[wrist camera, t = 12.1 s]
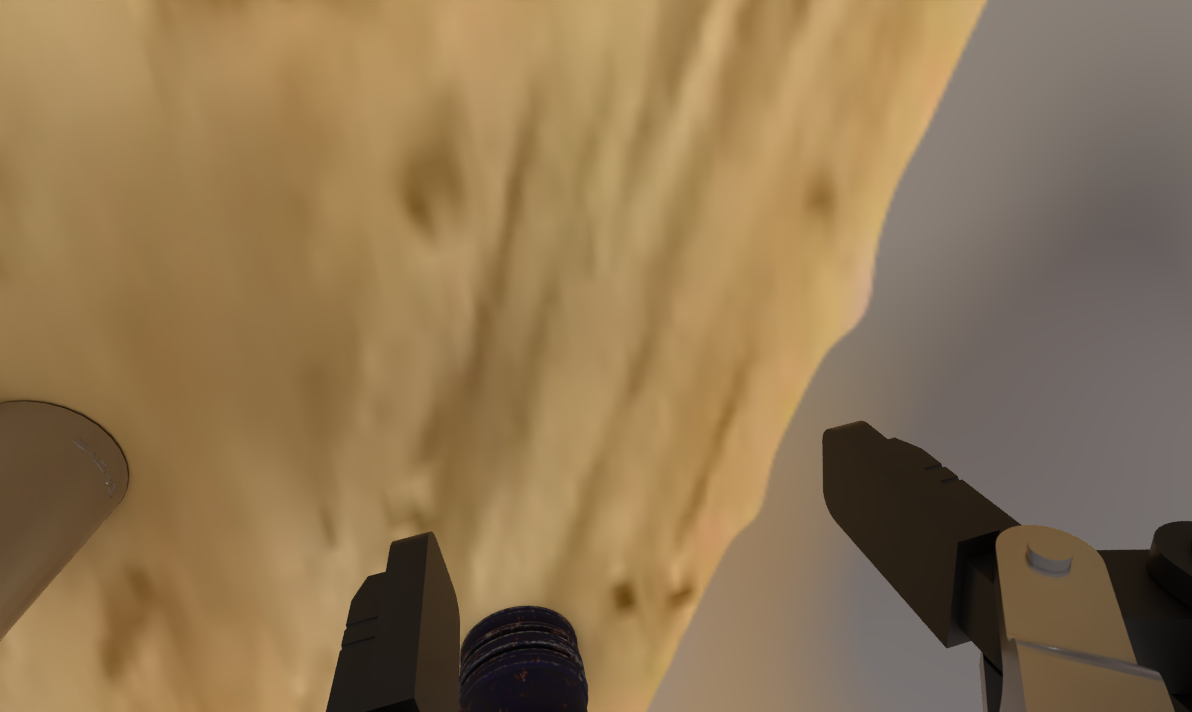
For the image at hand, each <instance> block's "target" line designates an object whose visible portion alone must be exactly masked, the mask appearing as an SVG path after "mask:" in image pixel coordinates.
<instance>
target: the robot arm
mask: <svg viewBox="0 0 1192 712" xmlns="http://www.w3.org/2000/svg"><path fill="white" fill-rule="evenodd" d="M822 443H823V493H824V498H825V502H826V505H827V508H828V510H829V512H830V514H831V516H832V517H833V519H834V520H835V521H836V523H837V524H838V525H839V526H840V527H841V528H842V529H843V531H844V532H845V533H846V534H847V535H848V536H849V537H850V538H851V539H852V541H853V542H854V543H855V544H856V545H857V547H859V549H860V550H861V551H862V552H863V553H864V554H865V556H866V557H867V558H868V559H869V560H870V561H871V562H872V563H873V565H874V566H875V567H876V568H877V569H878V570H879V572H880V573H881V574H882V575H883V576H884V577H885V578H886V579H887V580H888V582H889V583H890V584H891V585H892V586H893V588H894V589H895V590H896V591H897V592H898V593H899V594H900V596H901V597H902V598H903V599H904V600H905V601H906V602H907V604H909V606H910V607H911V608H912V609H913V610H914V612H915V613H916V614H917V615H918V616H919V617H920V618H921V620H922V621H923V622H924V623H925V624H926V625H927V626H928V628H929V629H930V630H931V631H932V632H933V633H934V634H935V636H936V637H937V638H938V639H939V640H940V641H941V642H942V644H943V645H944V646H945V647H946V648H950V647H953V646H956V645H959V644H962V643H965V642H969V641H972V642H973V643H974V644H975V645H976V646H977V647H978V648H979V649H980V650H981V653H980V661H979V668H980V680H981V693H982V707H983V712H1192V522H1191V521H1180V522H1179V521H1178V522H1171V523H1168V524H1165V525H1163V526H1161V527H1159V528H1158V529H1157V530H1156V532H1155V534H1154V537H1153V541H1152V544H1151V548H1150V550H1095V549H1094V548H1093V547H1092V546H1090V545H1089V544H1088V543H1086V542H1085V541H1083V540H1081V539H1080V538H1078V537H1076V536H1073V535H1072V534H1069V533H1067V532H1064V531H1061V530H1058V529H1055V528H1051V527H1046V526H1038V525H1021V524H1019V523H1018V522H1016V521H1015V520H1014V519H1013V518H1012V517H1010V516H1009V515H1008V514H1006V513H1005V512H1004V511H1002V510H1001V509H1000V508H999V507H997V506H996V505H994V504H993V503H992V502H991V501H989V500H988V499H987V498H985V497H984V496H983V495H982V494H980V493H979V492H978V491H976V490H975V489H974V488H972V487H971V486H970V485H968V484H967V483H966V482H965V481H963V480H959V479H958V476H956V475H955V474H954V473H953V472H952V471H950V470H949V469H947V468H946V467H942V465H941V463H940V462H938V461H937V460H936V459H934V458H933V457H932V456H931V455H929V454H928V453H927V452H925V451H924V450H923V449H921V448H919V447H917V446H914V445H912V444H909V443H907V442H904V441H902V440H899V439H897V438H892V439H887V438H885V437H884V436H883V435H882V434H880V433H879V432H878V431H877V430H875V429H874V428H873V427H872V426H870V425H869V424H868V423H866V422H864V421H858V422H854V423H850V424H846V425H842V426H838V427H834V428H830V429H827V430H825V432H824V434H823V440H822ZM127 483H128V471H127V465H126V462H125V459H124V457H123V455H122V453H121V451H120V449H119V448H118V446H117V445H116V444H115V442H114V441H113V440H112V438H111V437H110V436H109V435H108V434H106V433H105V432H104V431H103V430H102V429H101V428H100V427H99V426H97V425H96V424H94V423H93V422H91V421H89V420H88V419H86V418H85V417H83V416H81V415H79V414H77V413H74V412H72V411H70V410H67V409H65V408H61V407H58V406H54V405H50V404H46V403H38V402H29V401H19V402H5V403H1V404H0V641H1V639H2V638H3V637H4V636H5V635H6V634H7V632H8V631H9V630H10V629H11V628H12V627H13V626H14V624H15V623H16V622H17V621H18V620H19V619H20V617H21V616H22V615H23V614H24V613H25V612H26V611H27V609H28V608H29V607H30V606H31V605H32V604H33V602H34V601H35V600H36V599H37V598H38V597H39V596H40V594H41V593H42V592H43V591H44V590H45V589H46V587H47V586H48V585H49V584H50V583H51V582H52V581H53V579H54V578H55V577H56V576H57V575H58V574H59V572H60V571H61V570H62V569H63V568H64V567H65V566H66V564H67V563H68V562H69V561H70V560H71V559H72V557H73V556H74V555H75V554H76V553H77V552H78V551H79V549H80V548H81V547H82V546H83V545H84V544H85V543H86V542H87V540H88V539H89V538H90V537H91V536H92V535H93V533H94V532H95V531H96V530H97V529H98V527H99V526H100V525H101V524H102V523H103V522H104V520H105V519H106V518H107V517H108V516H109V515H110V513H111V512H112V511H113V510H114V509H115V508H116V506H117V505H118V504H119V503H120V502H121V500H122V498H123V496H124V494H125V492H126V489H127ZM346 627H347V629H346V630H345V631H344V636H343V640H342V644H341V646H342V650H341V651H340V653H339V657H338V662H337V666H336V670H335V675H334V679H333V683H332V688H331V692H330V696H329V701H328V705H327V709H326V712H459V661H460V616H459V608H458V603H457V598H456V594H455V590H454V587H453V585H452V582H451V579H450V576H449V573H448V570H447V568H446V565H445V562H444V559H443V556H442V554H441V551H440V548H439V545H438V542H437V540H436V537H435V535H434V534H433V532H427V533H423V534H420V535H416V536H412V537H408V538H404V539H400V540H397V541H393V542H392V543H391V546H390V551H389V556H388V562H387V568H386V572H383V573H379V574H375V575H371V576H368V577H367V578H366V580H365V581H364V583H363V584H362V586H361V587H360V589H359V590H358V592H357V593H356V595H355V596H354V598H353V599H352V601H351V605H350V610H349V614H348V618H347V623H346Z"/></svg>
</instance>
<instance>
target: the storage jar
mask: <svg viewBox="0 0 1192 712" xmlns="http://www.w3.org/2000/svg"><path fill="white" fill-rule="evenodd" d="M587 704H588V684H587V681H586V678H585V672H584V667H583V662H582V659H581V656H580V654H579V650H578V646H577V638H576V634H575V631H574V629H573V627H572V625H571V624H570V623H569V622H568V620H567V619H566V618H564V617H563V616H562V615H560V614H558V613H557V612H555V611H552V610H550V609H547V608H542V607H538V606H518V607H512V608H508V609H504V610H501V611H498V612H496V613H494V614H492V615H490V616H488V617H486V618H485V619H483V620H482V621H481V622H479V623H478V624H477V625H476V626H475V627H474V628H473V629H472V630H471V631H470V632H469V634H468V635H467V636H466V638H465V640H464V642H463V645H462V649H461V670H460V676H459V712H587Z"/></svg>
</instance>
